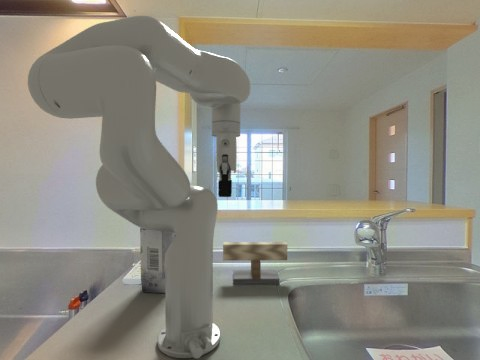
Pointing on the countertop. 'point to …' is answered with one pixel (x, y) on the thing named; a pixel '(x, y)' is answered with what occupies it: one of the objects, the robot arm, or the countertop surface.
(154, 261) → the juice carton
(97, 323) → the countertop surface
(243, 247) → the beech bar
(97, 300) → the countertop surface
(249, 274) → the grey slab with post
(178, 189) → the robot arm
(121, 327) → the countertop surface
